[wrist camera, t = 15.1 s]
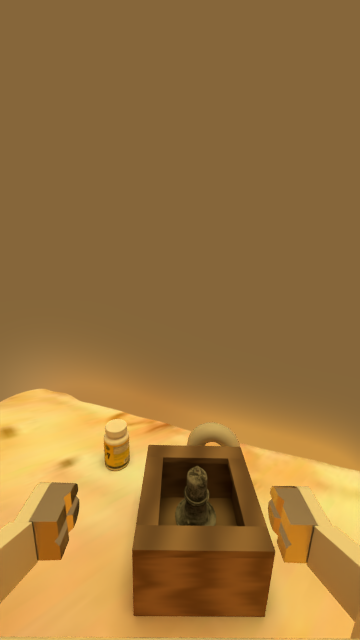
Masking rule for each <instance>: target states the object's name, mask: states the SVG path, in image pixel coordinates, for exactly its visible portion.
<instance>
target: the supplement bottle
mask: <svg viewBox="0 0 360 640" xmlns="http://www.w3.org/2000/svg"><path fill="white" fill-rule="evenodd" d="M104 450H105V464H106V466H107V468H108V469H110V470H120V469H122V468H124V467H125V466H127V464H128V463H129V433H128V431H127V423H126V422H125V421H124V420H122V419H114V420H111V421H109V422H108V423H107V424H106V426H105V435H104Z"/></svg>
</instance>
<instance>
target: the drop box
mask: <svg viewBox="0 0 360 640" xmlns="http://www.w3.org/2000/svg"><path fill="white" fill-rule="evenodd" d="M196 466H199V467H200V468H202V469H203V470H204V471H205V472H206V474H207V489H208V491H209V500H208V502H210V504H211V505H212V506H213V508H214V510H215V513H216V524H215V526H177V523H176V520H175V511H176V508H177V506H178V504H179V503H180V502H181V501H182V500H183V499H185V497H184V489H185V487H186V486H187V474H188V471H189V470H190V469H191V468H193V467H196ZM274 556H275V550H274V547H273V544H272V541H271V538H270V535H269V532H268V529H267V526H266V523H265V520H264V517H263V514H262V511H261V508H260V505H259V502H258V499H257V496H256V493H255V490H254V487H253V484H252V481H251V478H250V475H249V472H248V469H247V466H246V463H245V460H244V457H243V454H242V451H241V448H240V447H225V446H170V445H149V446H148V452H147V459H146V465H145V472H144V478H143V484H142V491H141V497H140V504H139V510H138V517H137V523H136V530H135V536H134V542H133V549H132V557H133V604H134V616H257V617H265V611H266V605H267V599H268V592H269V586H270V580H271V574H272V568H273V562H274Z"/></svg>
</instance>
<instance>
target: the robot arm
mask: <svg viewBox="0 0 360 640" xmlns="http://www.w3.org/2000/svg"><path fill="white" fill-rule="evenodd" d="M77 492H78V485H77V484H76V483H54V482H52V483H49V482H40V483H39V484H37V485H36V487H35V488H34V490H33V492H32V493H31V495H30V496H29V498H28V499H27V501H26V503H25V504H24V506H23V507H22V509H21V511H20V512H19V514H18V515H17V517H16V519H15V520H14V522H9V523H8V524H6V525H5V526H4V527H2V528H1V529H0V603H1V602H2V601H3V600H4V599H5V598H6V597H7V595H8V594H9V593H10V592H11V591H12V590H13V589H14V588H15V587H16V586H17V584H18V583H19V582H20V581H21V580H22V579H23V578H24V577H25V576H26V574H27V573H28V572H29V571H30V570H31V569H32V568H33V567H34V566H35V565H36V563H37V562H38V561H39V560H61V559H62V556H63V554H64V551H65V549H66V546H67V544H68V541H69V535H68V533H69V532H70V531H71V530H72V529H73V528H74V526H75V523H76V520H77V516H78V512H79V499H78V498H77V497H76V495H77ZM270 495H271V497H272V499H271V500H270V501H269V505H268V513H269V520H270V524H271V527H272V529H273V531H274V532H275V533H276V534H277V535H278V540H277V544H278V547H279V549H280V552H281V555H282V558H283V561H284V562H287V563H307V566H308V567H309V568H310V569H311V570H312V572H313V573H314V574H315V575H316V576H317V578H318V579H319V580H320V581H321V582H322V584H323V585H324V586H325V587H326V588H327V589H328V591H329V592H330V593H331V594H332V595H333V597H334V598H335V599H336V600H337V601H338V603H339V604H340V605H341V606H342V607H343V608H344V610H345V611H346V612H347V613H348V614H349V616H350V617H351V618H352V619H353V620H354V621H355V624H354V627H353V631H352V634H351V638H350V639H306V638H159V637H0V640H360V545H358V544H357V543H356V542H355V541H354V540H352V539H351V538H350V537H349V536H347V535H346V534H345V533H344V532H343V531H341V530H340V529H339V528H338V527H336V526H332V524H331V523H330V521H329V519H328V518H327V516H326V514H325V513H324V511H323V509H322V507H321V506H320V504H319V502H318V501H317V499H316V497H315V496H314V494H313V492H312V490H311V489H310V488H309V487H307V486H296V487H295V486H272V487H271V491H270Z"/></svg>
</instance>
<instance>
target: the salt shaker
mask: <svg viewBox="0 0 360 640" xmlns="http://www.w3.org/2000/svg"><path fill="white" fill-rule="evenodd" d="M184 497H185V499H183V500H182V501H181V502H180V503H179V504H178V506H177V508H176V511H175V520H176V523H177V526H215V524H216V513H215V510H214V508H213V506H212V505H211V504H210V502H208V500H209V491H208V489H207V474H206V472H205V471H204V470H203V469H202V468H200V467H199V466H196V467H193V468H191V469H190V470H189V471H188V474H187V486H186V487H185V489H184Z"/></svg>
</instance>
